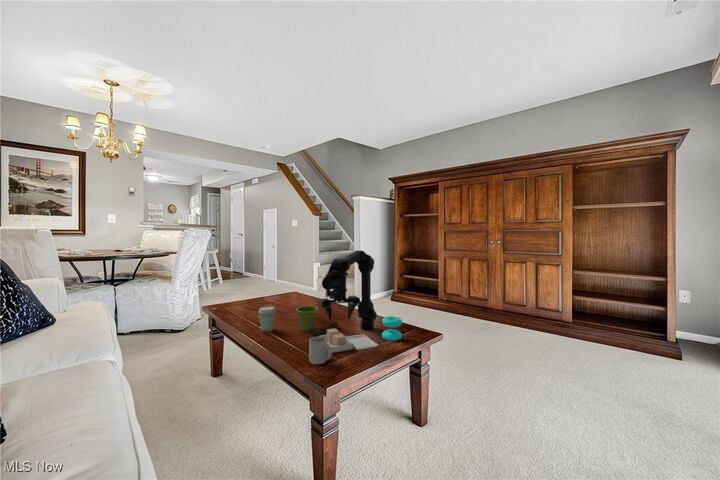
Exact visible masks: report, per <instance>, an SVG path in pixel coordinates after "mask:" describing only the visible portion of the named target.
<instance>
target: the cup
mask: <svg viewBox="0 0 720 480" xmlns="http://www.w3.org/2000/svg"><path fill="white" fill-rule="evenodd" d="M308 340H309V345H308V346H309V347H308V350H309V351H308V357H309V358H308V362H310V363H311V365H323V364H325V363H326V362H327V361H328V360H329V361H330V360H331V357H332V354H333V353H332V350H331V346H330V345H329V344H327V338H325V337H313V336H312V337H310V338H309V339H308Z"/></svg>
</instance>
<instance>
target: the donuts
mask: <svg viewBox="0 0 720 480" xmlns="http://www.w3.org/2000/svg"><path fill="white" fill-rule="evenodd" d="M381 322H382V324H383V326H385V327H387V328H391V329H385V330H384V331H383V332H382V333H381V337H382V338H383V339H384V340H387V341H399V339H400V340H401V339H402V337H403V334H402V332H401V331H400V330H397V329H392V328H398V327H400V326H402V324H403V320H402V318H400V317H399V316H398V317H397V316H385V317H383V318H382V320H381Z"/></svg>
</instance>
